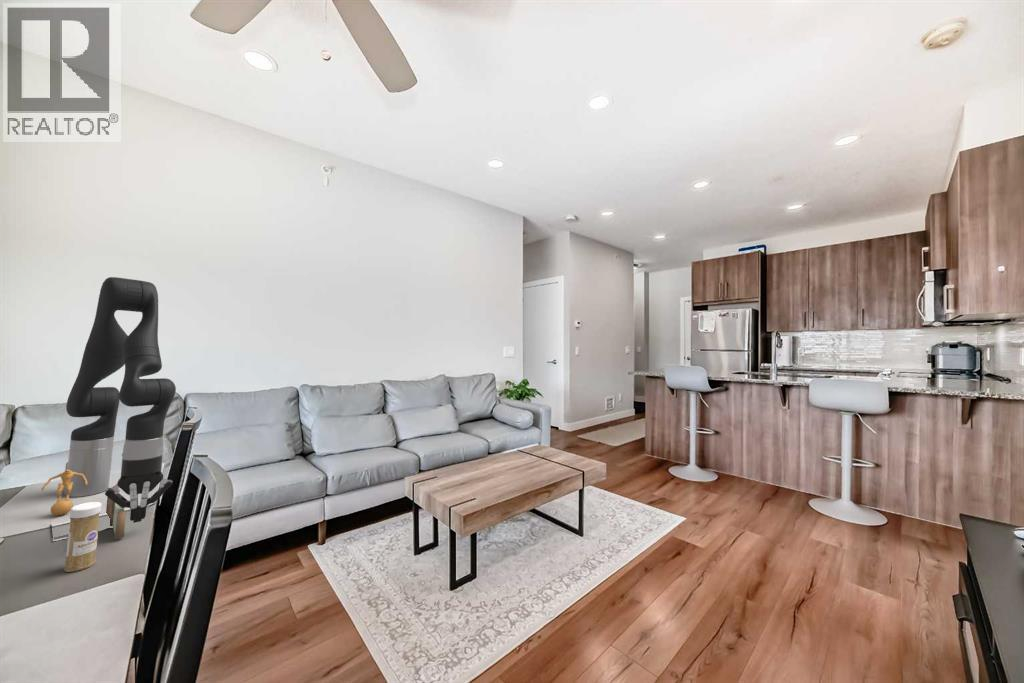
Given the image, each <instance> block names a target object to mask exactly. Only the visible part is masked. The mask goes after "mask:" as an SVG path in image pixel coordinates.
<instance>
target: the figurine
mask: <svg viewBox="0 0 1024 683" xmlns="http://www.w3.org/2000/svg"><path fill="white" fill-rule="evenodd" d="M73 475H77V476H82V478H83V479H84V481H85V483H86V485H88V482H87V480H86V478H85V476H84V475H83V474H80V473H77V472H72V471H71V470H64V471H63V472H62V473H59V474H57V475H54V476H52V477H50V478H49V479H48V480H47V481H46V482H45V484H43V486H42V488H41V491H44V489H46V486H48V484H50V482H51V481H52V480H54V479H57V478H61V482H60V483H58V484H57V486H58V487H57V495H58V499H57V500H56V502H55V503H53V505H51V507H50V513H51V514H52V515H54V516H63V514H64V515H66V514H68V513H70V510H71V508H72V507H74V502H72V501H71V500H69V499H70V497H69V494H70V493H71V492H70V491H71V489H72V485H73V482H70V480H71V478H72V477H73ZM85 483H84V484H85ZM64 486H66V489H67V490H68V492H67V496H65V499H62V494H63V492H62V491H63V488H64Z"/></svg>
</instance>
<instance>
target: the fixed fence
mask: <svg viewBox="0 0 1024 683" xmlns="http://www.w3.org/2000/svg"><path fill="white" fill-rule="evenodd" d="M106 497H107V496H106ZM114 507H115V502H114V501H112V500H111V499H110V498H108V497H107V500H106V509H105V512H106V513H107V514H108V516H109V518H110V526H113V517H114Z"/></svg>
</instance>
